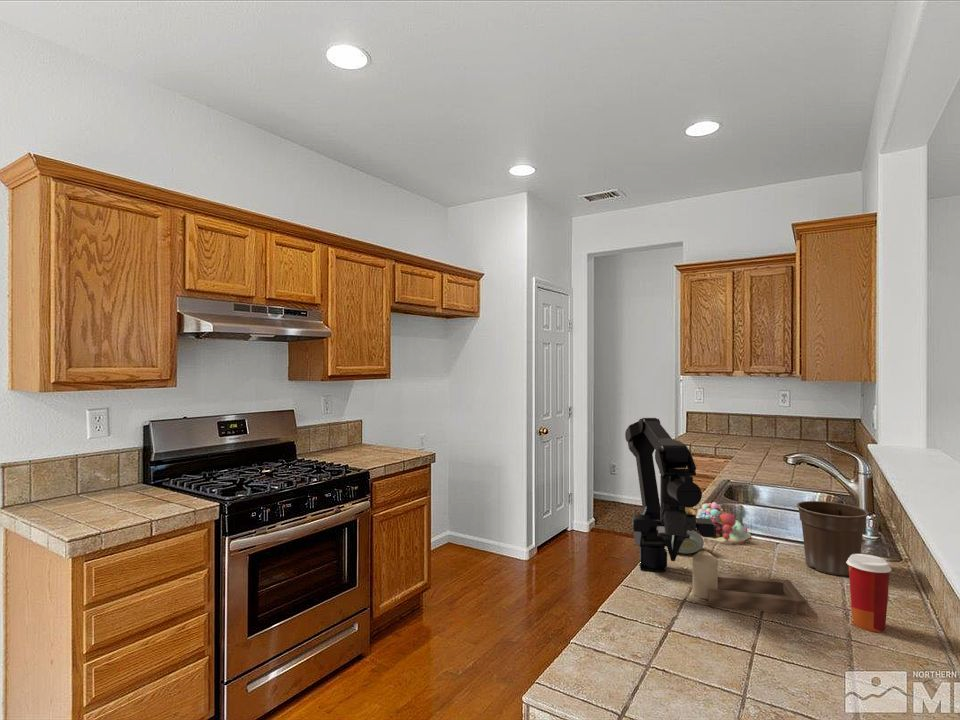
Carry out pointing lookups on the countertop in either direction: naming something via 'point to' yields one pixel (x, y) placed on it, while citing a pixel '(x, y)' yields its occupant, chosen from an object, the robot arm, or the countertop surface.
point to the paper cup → (869, 591)
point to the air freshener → (690, 543)
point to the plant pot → (831, 534)
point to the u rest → (757, 595)
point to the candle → (704, 574)
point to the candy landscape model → (721, 524)
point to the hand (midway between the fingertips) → (672, 560)
